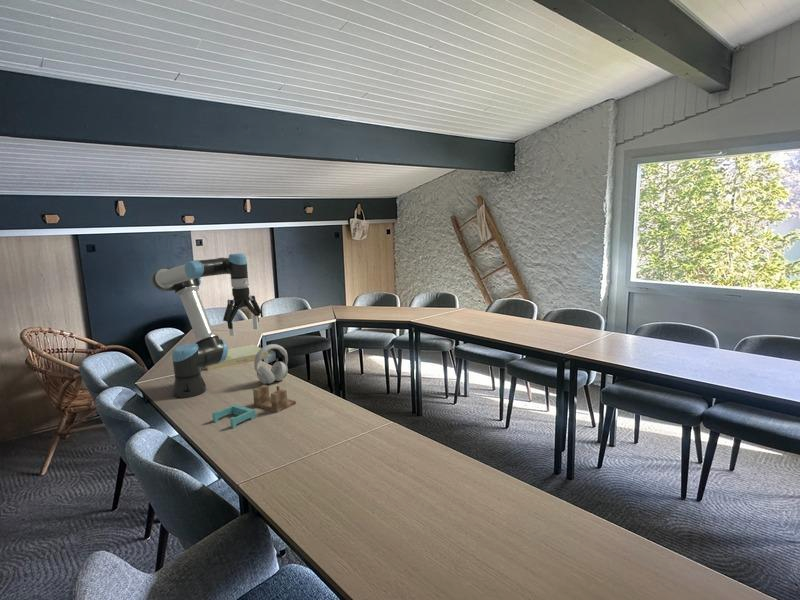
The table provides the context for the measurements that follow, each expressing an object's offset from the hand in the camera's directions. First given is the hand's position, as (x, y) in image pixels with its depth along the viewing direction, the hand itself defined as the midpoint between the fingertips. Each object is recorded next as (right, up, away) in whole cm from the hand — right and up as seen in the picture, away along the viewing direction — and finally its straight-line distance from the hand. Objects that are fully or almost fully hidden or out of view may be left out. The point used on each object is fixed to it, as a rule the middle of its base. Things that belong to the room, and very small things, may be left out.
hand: (244, 332), depth 217 cm
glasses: (+3, -35, -22) cm, 42 cm away
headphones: (+7, -28, +22) cm, 36 cm away
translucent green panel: (-29, -22, +65) cm, 74 cm away
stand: (+16, -32, -8) cm, 37 cm away
